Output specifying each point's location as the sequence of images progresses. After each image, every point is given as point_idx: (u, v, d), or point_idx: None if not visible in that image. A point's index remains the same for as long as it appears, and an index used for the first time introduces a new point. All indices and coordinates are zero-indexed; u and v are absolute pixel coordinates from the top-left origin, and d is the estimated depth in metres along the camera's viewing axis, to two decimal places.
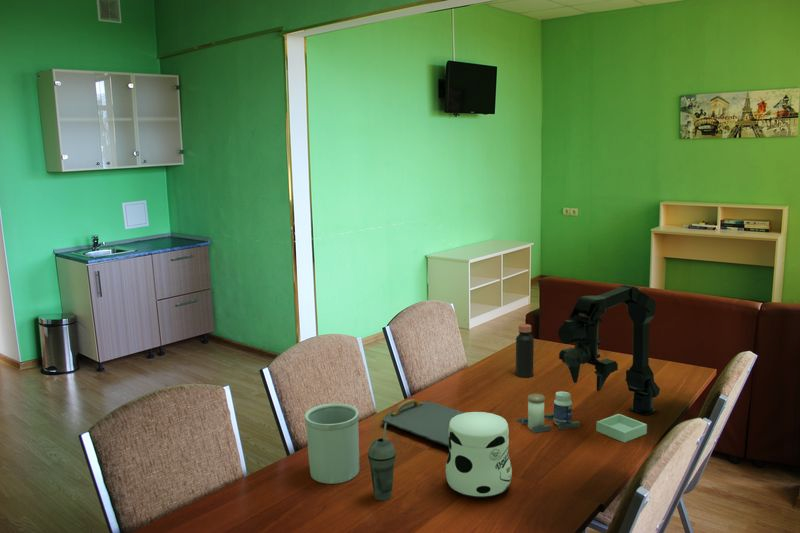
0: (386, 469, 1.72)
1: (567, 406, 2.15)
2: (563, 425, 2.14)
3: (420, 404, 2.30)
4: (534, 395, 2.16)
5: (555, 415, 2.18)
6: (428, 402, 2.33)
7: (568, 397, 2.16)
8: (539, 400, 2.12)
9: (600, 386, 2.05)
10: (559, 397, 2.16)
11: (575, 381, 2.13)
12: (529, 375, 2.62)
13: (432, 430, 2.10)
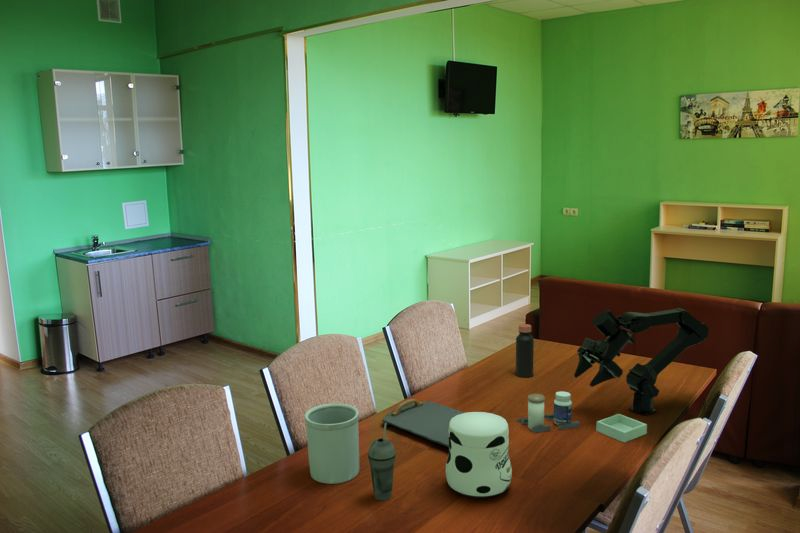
0: (386, 469, 1.72)
1: (567, 406, 2.15)
2: (563, 425, 2.14)
3: (421, 404, 2.30)
4: (534, 395, 2.16)
5: (555, 415, 2.18)
6: (429, 402, 2.33)
7: (568, 397, 2.16)
8: (539, 400, 2.12)
9: (595, 382, 2.14)
10: (559, 397, 2.16)
11: (575, 375, 2.23)
12: (529, 375, 2.62)
13: (432, 430, 2.10)
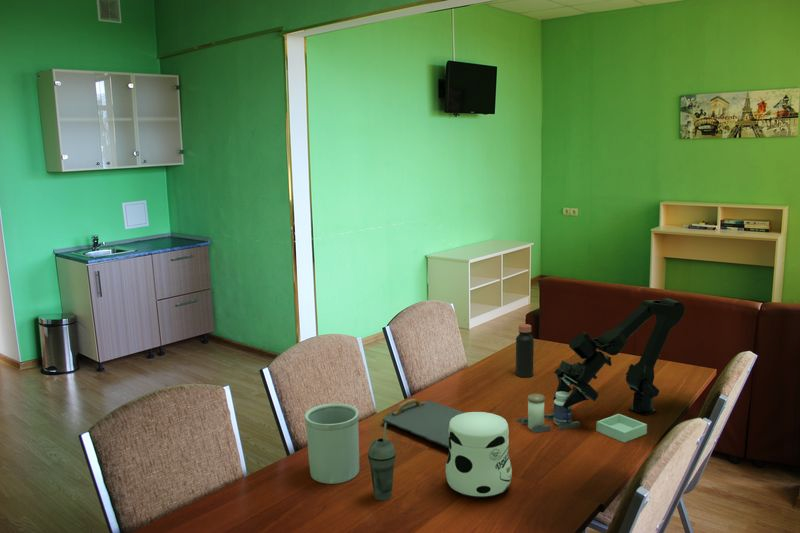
0: (386, 469, 1.72)
1: None
2: (563, 425, 2.14)
3: (422, 404, 2.30)
4: (534, 395, 2.16)
5: (555, 415, 2.18)
6: (430, 402, 2.33)
7: None
8: (539, 400, 2.12)
9: (568, 404, 2.14)
10: (559, 397, 2.16)
11: None
12: (529, 375, 2.62)
13: (431, 430, 2.10)
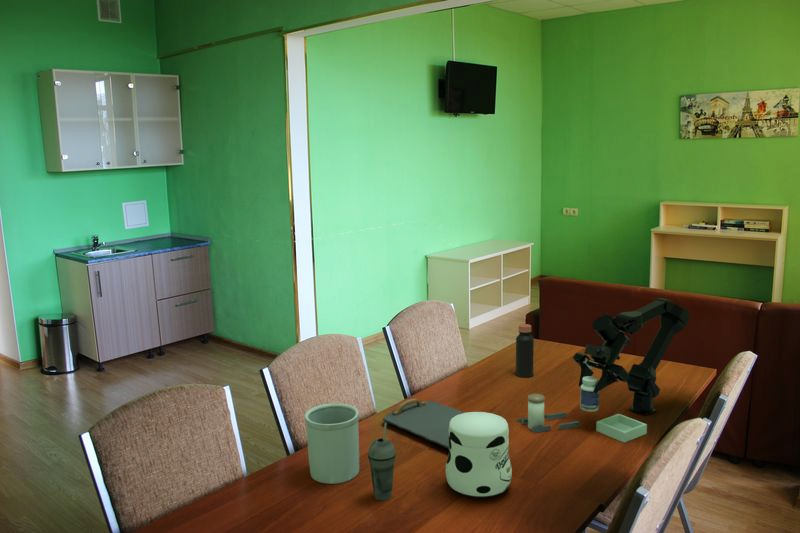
0: (386, 469, 1.72)
1: None
2: (563, 425, 2.14)
3: (423, 404, 2.30)
4: (534, 395, 2.16)
5: (584, 401, 2.11)
6: (431, 402, 2.33)
7: (597, 381, 2.10)
8: (539, 400, 2.12)
9: (598, 388, 2.08)
10: (588, 382, 2.09)
11: (580, 385, 2.13)
12: (529, 375, 2.62)
13: (431, 430, 2.10)
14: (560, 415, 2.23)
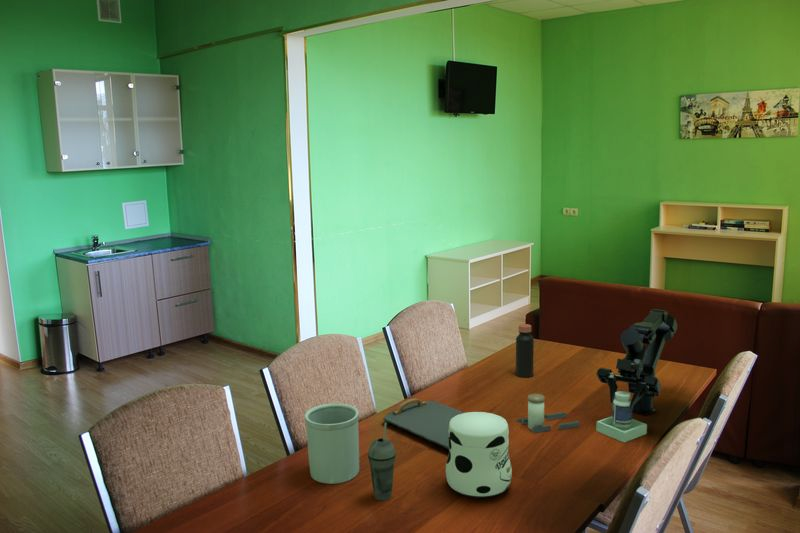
0: (386, 469, 1.72)
1: None
2: (563, 425, 2.14)
3: (423, 403, 2.30)
4: (534, 395, 2.16)
5: (620, 417, 2.08)
6: (432, 402, 2.33)
7: (630, 396, 2.08)
8: (539, 400, 2.12)
9: (634, 402, 2.07)
10: (624, 398, 2.07)
11: (612, 400, 2.10)
12: (529, 375, 2.62)
13: (431, 430, 2.10)
14: (560, 415, 2.23)
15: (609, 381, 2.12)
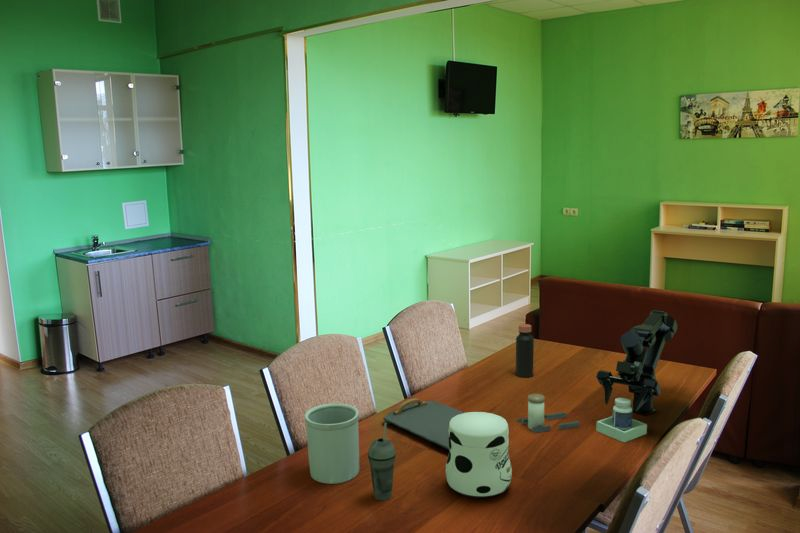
0: (386, 469, 1.72)
1: (631, 412, 2.08)
2: (563, 425, 2.14)
3: (424, 403, 2.30)
4: (534, 395, 2.16)
5: (620, 424, 2.08)
6: (433, 402, 2.33)
7: (630, 402, 2.09)
8: (539, 400, 2.12)
9: (639, 405, 2.06)
10: (624, 404, 2.07)
11: (607, 402, 2.11)
12: (529, 375, 2.62)
13: (430, 430, 2.10)
14: (560, 415, 2.23)
15: (604, 383, 2.13)
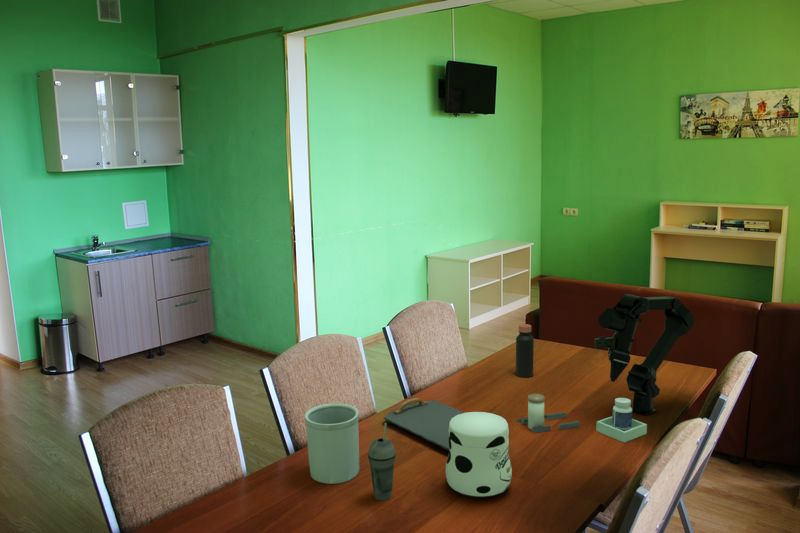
0: (386, 469, 1.72)
1: (631, 412, 2.08)
2: (563, 425, 2.14)
3: (425, 403, 2.30)
4: (534, 395, 2.16)
5: (620, 424, 2.08)
6: (434, 402, 2.33)
7: (630, 402, 2.09)
8: (539, 400, 2.12)
9: (613, 376, 2.13)
10: (624, 404, 2.07)
11: (611, 376, 2.23)
12: (529, 375, 2.62)
13: (430, 430, 2.10)
14: (560, 415, 2.23)
15: None
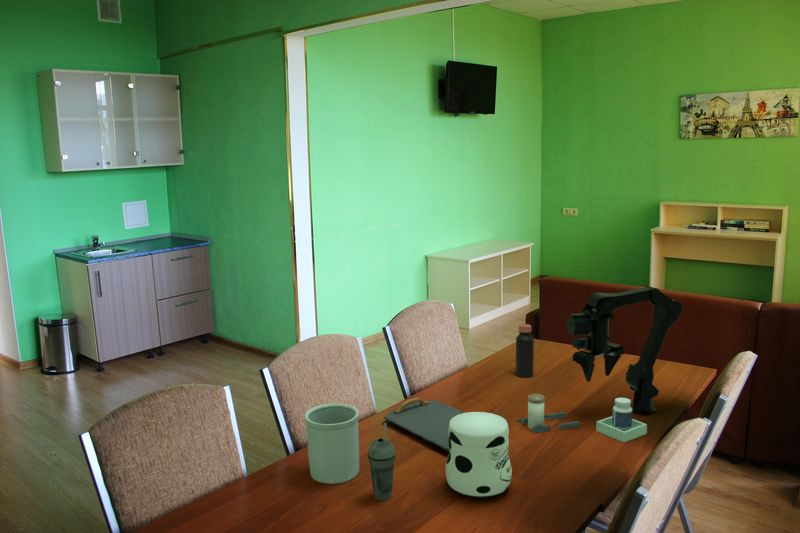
0: (386, 469, 1.72)
1: (631, 412, 2.08)
2: (563, 425, 2.14)
3: (426, 403, 2.30)
4: (534, 395, 2.16)
5: (620, 424, 2.08)
6: (435, 401, 2.33)
7: (630, 402, 2.09)
8: (539, 400, 2.12)
9: (586, 377, 2.18)
10: (624, 404, 2.07)
11: (606, 374, 2.24)
12: (529, 375, 2.62)
13: (430, 430, 2.10)
14: (560, 415, 2.23)
15: None
